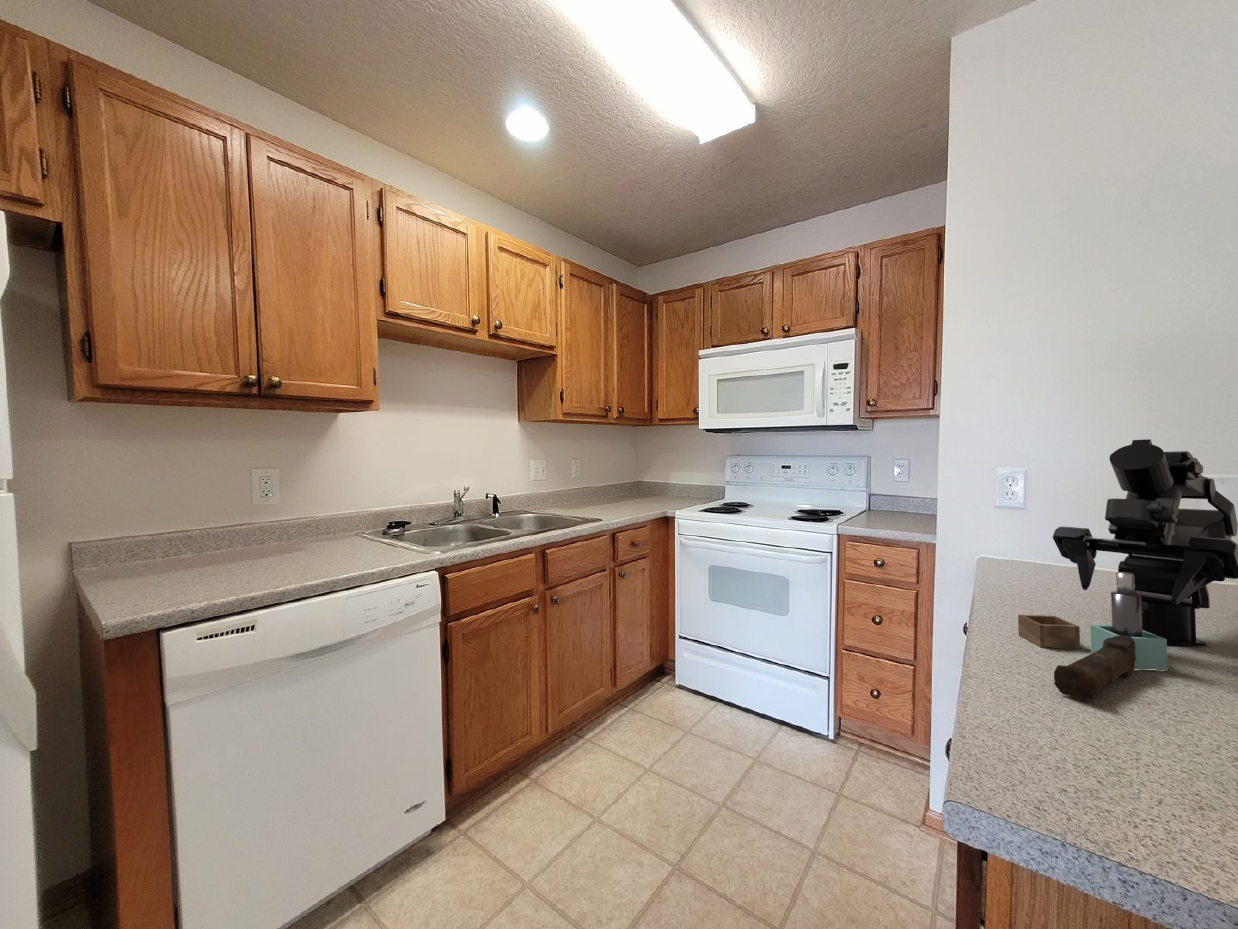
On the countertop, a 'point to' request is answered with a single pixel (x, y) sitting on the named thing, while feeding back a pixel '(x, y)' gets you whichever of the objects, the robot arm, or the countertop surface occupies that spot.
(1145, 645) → the hollow teal block
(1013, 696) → the countertop surface
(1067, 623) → the socket block
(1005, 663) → the countertop surface
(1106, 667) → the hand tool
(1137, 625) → the stepped grey cylinder
